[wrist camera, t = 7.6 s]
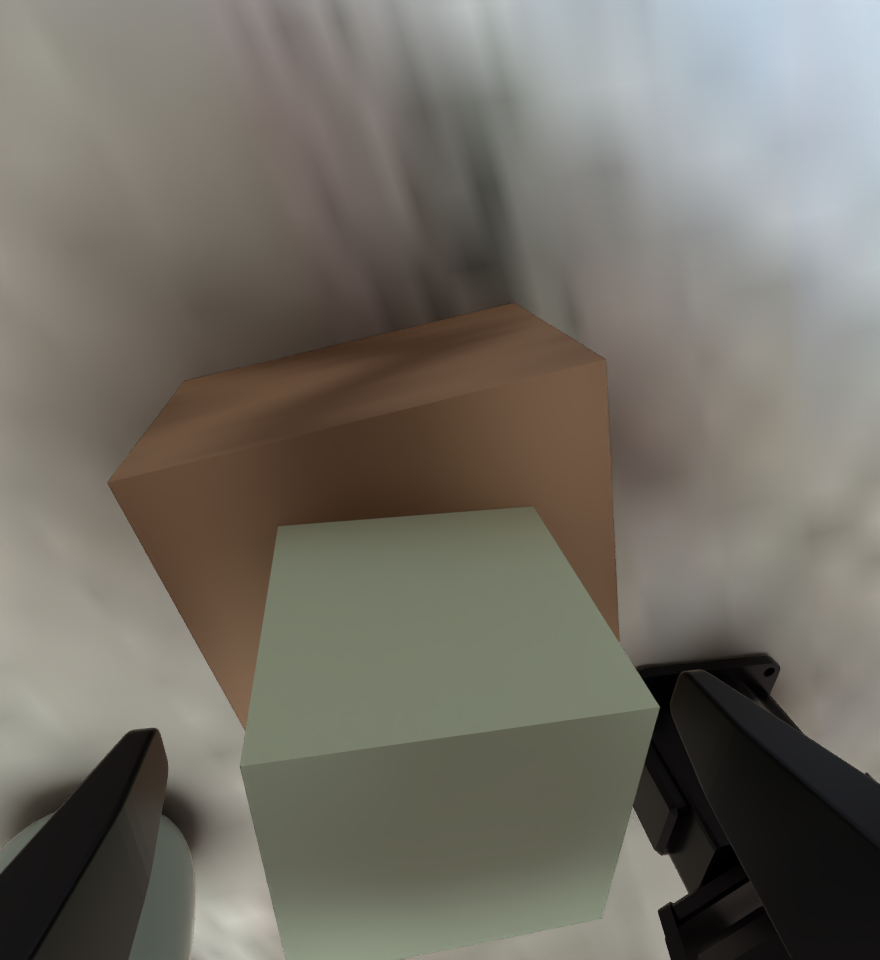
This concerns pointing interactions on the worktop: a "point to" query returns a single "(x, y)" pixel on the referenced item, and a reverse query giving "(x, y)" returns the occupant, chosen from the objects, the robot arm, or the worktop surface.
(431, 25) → the worktop surface
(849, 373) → the worktop surface
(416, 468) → the walnut block
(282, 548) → the green cube
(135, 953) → the cup
